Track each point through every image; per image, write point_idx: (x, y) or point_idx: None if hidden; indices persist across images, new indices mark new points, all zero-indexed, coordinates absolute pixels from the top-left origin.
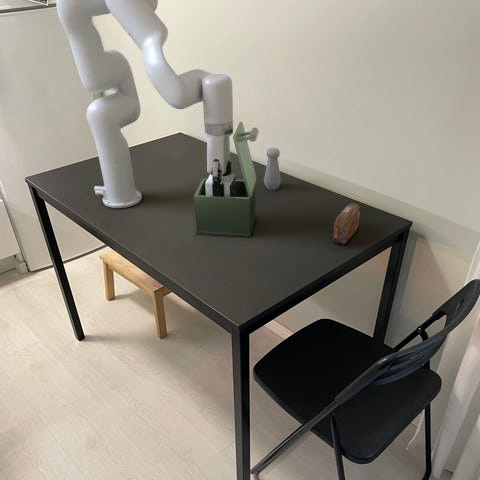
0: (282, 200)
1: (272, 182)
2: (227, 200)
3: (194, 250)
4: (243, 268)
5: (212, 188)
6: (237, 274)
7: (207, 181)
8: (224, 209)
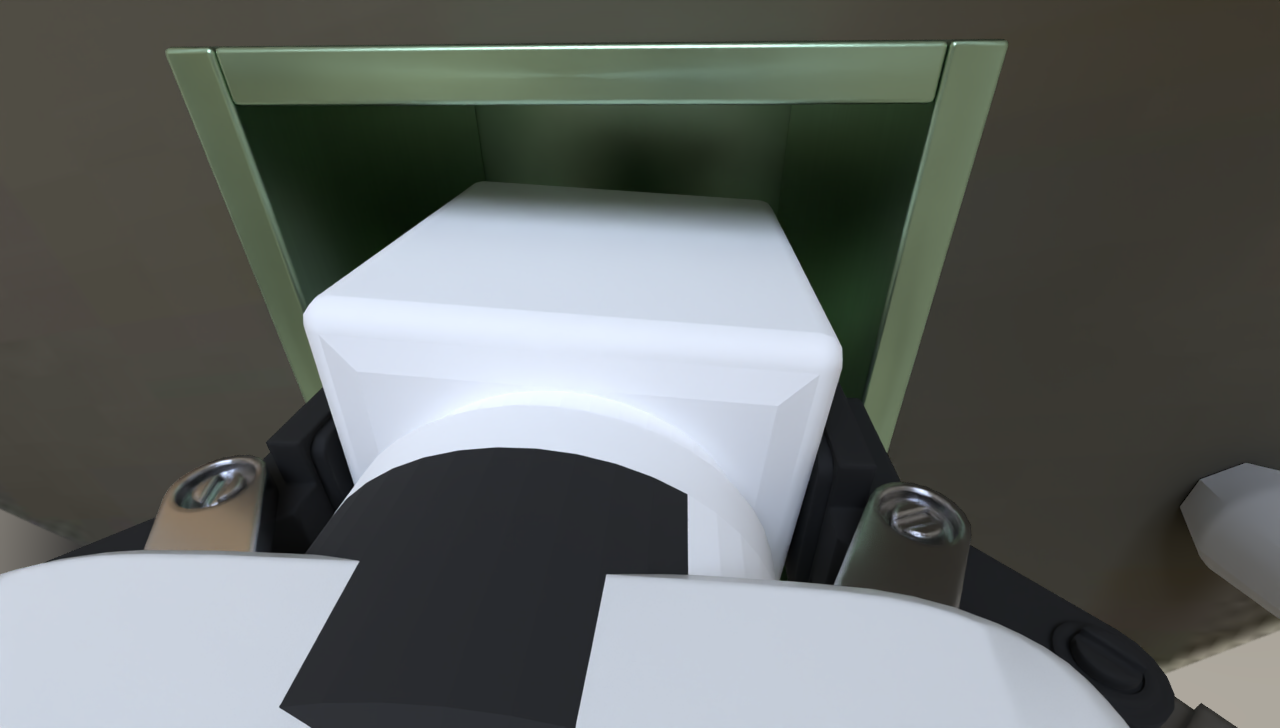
0: (990, 545)
1: (1219, 545)
2: None
3: None
4: (195, 411)
5: (322, 391)
6: (129, 391)
7: (327, 350)
8: None
